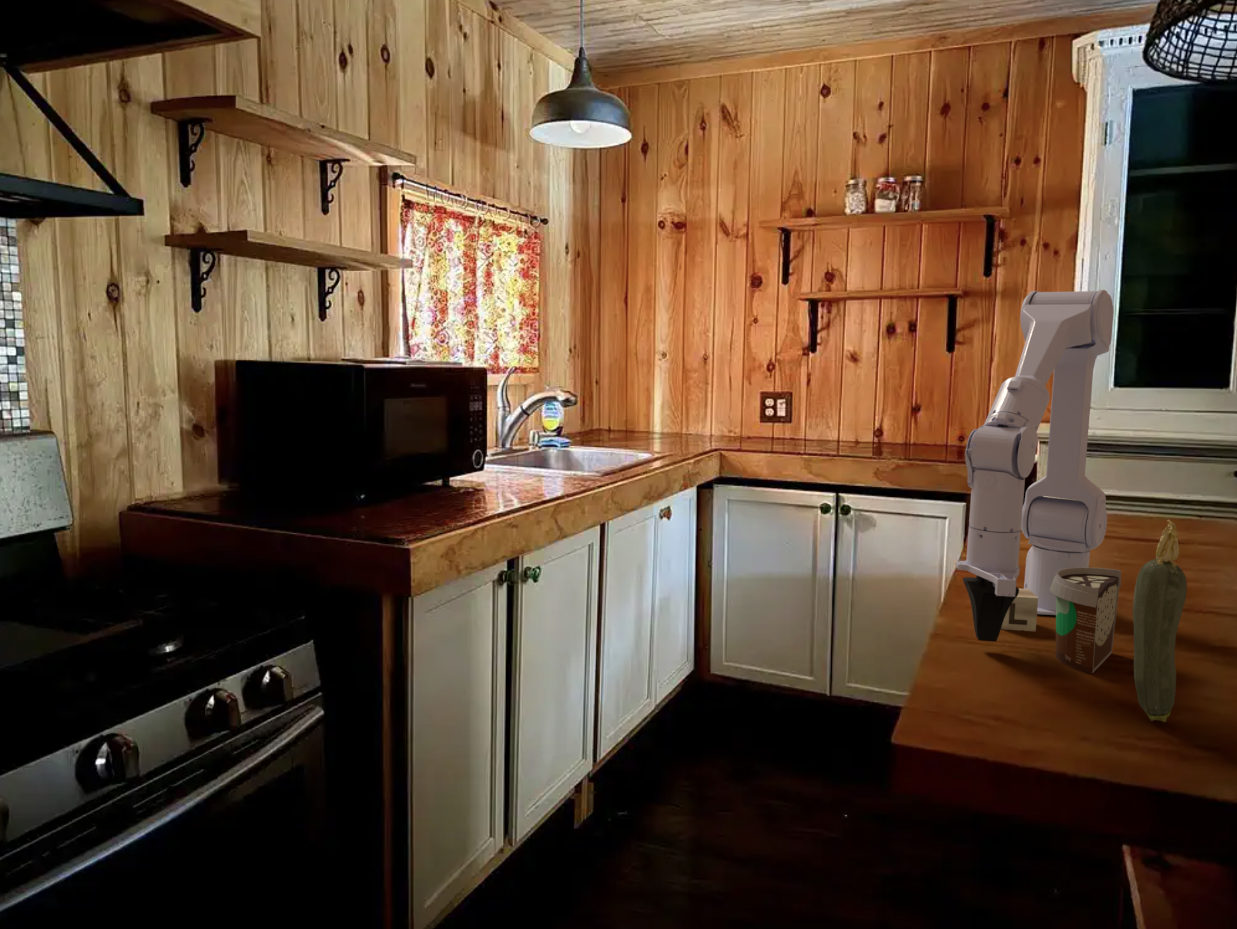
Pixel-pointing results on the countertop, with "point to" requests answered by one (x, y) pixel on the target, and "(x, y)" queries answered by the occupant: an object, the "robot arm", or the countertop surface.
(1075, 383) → the robot arm
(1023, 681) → the countertop surface
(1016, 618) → the letter cube
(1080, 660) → the food container
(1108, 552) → the countertop surface
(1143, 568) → the vegetable
